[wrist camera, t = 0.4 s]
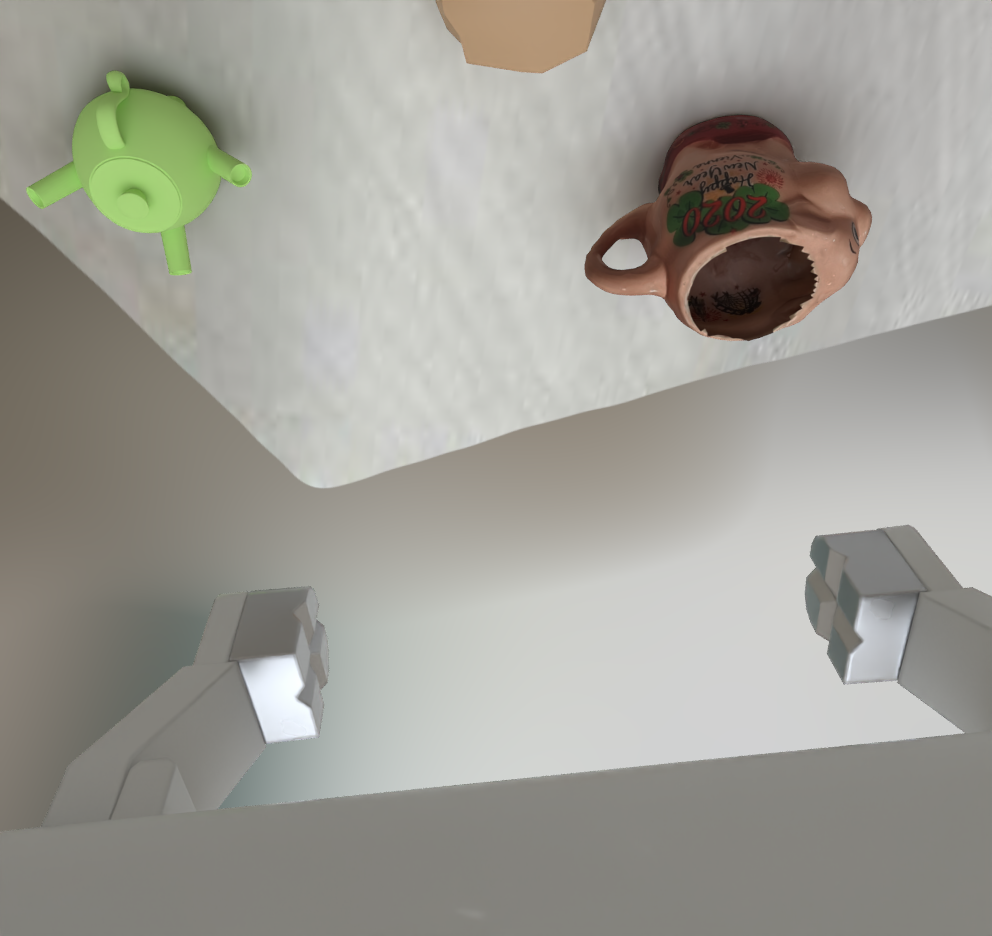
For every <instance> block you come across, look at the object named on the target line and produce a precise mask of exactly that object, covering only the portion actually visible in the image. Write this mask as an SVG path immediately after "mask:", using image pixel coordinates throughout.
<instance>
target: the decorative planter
mask: <svg viewBox="0 0 992 936" xmlns="http://www.w3.org/2000/svg"><path fill="white" fill-rule="evenodd" d="M658 191H659V197H658V198H657V200H656V202H654V203H646V204H643V205H641V206H639V207H638V208H636V209H634V210H633V211H631V212H629V213H628V214H626V215H625V216H623V217H621V218H620V219H619V220H617V221H616V222H615V223H614V224H613V225H612V226H611V227H609V228H608V229H607V230H606V231H605V232H604V233H603V234H602V235H601V237H600V238H599V239H598V241H597V242H596V243H595V244H594V245H593V246H592V248H591V251H590V252H589V253H588V254H587V255H586V261H585V275H586V277H587V279H589V280H590V281H591V282H592V283H593V284H594V285H596V286H597V287H599V288H600V289H602V290H604V291H606V292H609V293H612V294H617V295H630V296H631V295H656V296H659V297H662V298H663V299H665V301H666V303H667V304H668V306H669V307H670V308H671V309H672V310H673V311H674V313H675V315H676V317H677V318H678V319H679V320H680V321H681V322H682V323H683V324H685V325H686V326H688V327H689V328H691V329H692V330H694V331H696V332H697V333H699V334H701V335H703V336H706V337H711V338H715V339H720V340H727V341H740V340H747V341H750V340H753V339H757V338H760V337H763V336H766V335H769V334H771V333H773V332H775V331H778V330H780V329H782V328H785V327H788V326H791V325H794V324H796V323H798V322H800V321H801V320H803V319H804V318H805V317H806V316H807V315H808V314H809V313H810V312H811V311H812V310H813V309H814V308H815V307H816V306H817V305H819V304H820V303H821V302H822V301H824V300H825V299H827V298H828V297H829V296H831V295H832V294H834V293H835V292H837V291H838V290H840V289H841V288H842V287H843V286H845V284H846V283H847V282H848V280H849V279H850V277H851V276H852V274H853V272H854V270H855V268H856V266H857V263H858V254H859V248H860V247H861V245H862V244H863V243H864V241H865V239H866V237H867V235H868V233H869V230H870V227H871V222H872V215H871V212H870V210H869V209H868V207H867V206H866V205H865V204H863V203H862V202H860V201H858V200H856V199H854V198H852V197H851V196H850V194H849V191H848V186H847V182H846V179H845V177H844V176H843V174H842V173H841V172H840V171H839V170H837V169H836V168H834V167H832V166H829V165H825V164H821V163H815V162H799V161H797V160H796V158H795V156H794V153H793V149H792V146H791V143H790V141H789V140H788V138H787V137H786V135H785V134H784V133H783V132H782V131H781V130H780V129H778V128H777V127H776V126H774V125H773V124H771V123H769V122H768V121H766V120H764V119H761V118H759V117H755V116H746V115H736V116H725V117H719V118H716V119H712V120H709V121H705V122H702V123H700V124H697V125H695V126H693V127H691V128H689V129H687V130H686V131H684V132H683V133H682V134H680V135H679V136H678V137H677V138H676V140H675V141H674V142H673V144H672V145H671V147H670V149H669V151H668V153H667V156H666V159H665V163H664V167H663V170H662V173H661V175H660V179H659V185H658ZM619 239H637V240H639V241H640V242H641V243H642V245H643V247H644V249H645V251H646V254H647V257H648V260H647V261H646V262H645V263H644V264H643V265H642V266H639V267H637V268H634V269H627V270H616V269H612V268H609V267H608V266H607V265H606V264H605V263H604V262H603V261H602V257H603V255H604V254H605V253H606V252H607V250H608V249H609V248H610V247H611V246H612V245H613V244H614V243H615V242H616V241H617V240H619Z"/></svg>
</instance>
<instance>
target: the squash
mask: <svg viewBox="0 0 992 936" xmlns="http://www.w3.org/2000/svg"><path fill="white" fill-rule="evenodd" d="M605 1H606V0H436V3H437V6H438V8H439V10H440V13H441V15H442V18H443V20H444V23H445V25H446V27H447V29H448V30H449V31H450V32H451V33H452V34H453V35H454V36H455V38H456V39H457V40H458V41H459V42H460V43H461V44H462V47H463V51H464V55H465V59H466V62H467V63H468V64H475V65H481V66H487V67H494V68H500V69H506V70H513V71H519V72H531V73H544V72H546V71H548V70H550V69H552V68H554V67H556V66H558V65H560V64H562V63H564V62H566V61H568V60H570V59H572V58H574V57H576V56H578V55H580V54H582V53H584V52H586V51H587V49H588V46H589V44H590V41H591V39H592V36H593V33H594V31H595V28H596V25H597V23H598V20H599V17H600V15H601V12H602V9H603V7H604V4H605Z"/></svg>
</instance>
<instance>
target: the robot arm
mask: <svg viewBox="0 0 992 936" xmlns="http://www.w3.org/2000/svg"><path fill="white" fill-rule="evenodd" d="M810 557H811V559H812V561H813V562H814V564H815V566H816V568H815V569H814V570H813V571H812V572H811V573H810V574H809V575H808V576H807V578H806V587H805V600H806V609H807V613H808V616H809V619H810V622H811V624H812V626H813V628H814V630H815V632H816V634H818V635H820V636H821V637H823V638H824V639H826V640H828V641H829V645H828V651H827V655H828V656H829V658H830V660H831V662H832V664H833V665H834V667H835V669H836V671H837V673H838V675H839V676H840V678H841V680H842V682H843V684H856V683H869V682H882V681H896V680H898V682H897V683H898V684H900V685H901V686H903V687H904V688H905V689H906V690H908V691H909V692H910V693H912V694H913V695H915V696H916V697H917V698H919V699H920V700H921V701H923V702H924V703H925V704H927V705H928V706H930V707H931V708H932V709H933V710H935V711H936V712H938V713H939V714H940V715H942V716H943V717H944V718H946V719H947V720H948V721H950V722H951V723H952V724H954V725H955V726H957V727H958V728H959V729H961V730H962V731H963V732H965V733H964V734H954V735H946V736H935V737H926V738H916V739H907V740H897V741H888V742H878V743H869V744H858V745H848V746H839V747H828V748H818V749H808V750H798V751H788V752H779V753H768V754H758V755H748V756H738V757H729V758H718V759H708V760H699V761H688V762H678V763H668V764H659V765H649V766H639V767H630V768H619V769H610V770H601V771H590V772H580V773H571V774H561V775H551V776H542V777H532V778H523V779H512V780H502V781H493V782H483V783H473V784H464V785H454V786H443V787H434V788H423V789H413V790H404V791H394V792H384V793H374V794H364V795H354V796H344V797H335V798H324V799H315V800H305V801H295V802H285V803H275V804H265V805H255V806H245V807H235V808H225V809H218V808H219V806H220V805H221V804H222V802H223V801H224V800H225V799H226V797H227V796H228V795H229V794H230V792H231V791H232V790H233V789H234V787H235V786H236V785H237V783H238V782H239V781H240V779H241V778H242V777H243V776H244V775H245V773H246V772H247V771H248V769H249V768H250V767H251V766H252V764H253V763H254V762H255V761H256V759H257V758H258V756H259V755H260V754H261V753H262V752H263V750H264V749H265V748H266V745H265V744H270V743H277V742H286V741H293V740H302V739H309V738H317V737H319V735H320V729H321V721H322V715H323V708H324V702H323V698H322V694H321V689H322V688H323V687H324V686H325V685H326V683H327V681H328V672H329V649H328V641H327V635H326V631H325V627H324V625H323V624H321V623H320V622H319V621H317V613H318V608H319V604H318V600H317V597H316V593H315V590H314V589H313V588H312V587H311V586H308V587H294V588H282V589H269V590H255V591H251V592H237V593H224V594H220V595H219V596H218V597H217V598H216V599H215V600H214V603H213V606H212V609H211V612H210V615H209V618H208V621H207V624H206V627H205V630H204V633H203V636H202V639H201V642H200V645H199V648H198V651H197V654H196V657H195V660H194V663H193V665H192V666H184V667H183V668H181V669H180V670H179V671H178V672H177V673H176V674H174V676H172V677H171V678H170V679H169V680H167V681H166V682H165V683H164V684H163V685H162V686H160V687H159V688H158V689H157V690H156V691H155V692H153V693H152V694H151V695H150V696H149V697H148V698H146V699H145V700H144V701H143V702H142V703H141V704H139V705H138V706H137V707H136V708H135V709H133V710H132V712H130V713H129V714H128V715H126V716H125V717H124V718H123V719H122V720H121V721H120V722H118V723H117V724H116V725H115V726H114V727H112V728H111V729H110V730H109V731H108V732H107V733H105V734H104V735H103V736H102V737H101V738H100V739H98V740H97V741H96V742H95V743H94V744H92V745H91V746H90V747H89V748H88V749H87V750H85V751H84V752H83V753H82V754H81V755H80V756H78V757H77V758H76V759H75V760H74V761H73V762H71V763H70V764H69V765H68V766H67V769H66V771H65V773H64V775H63V778H62V780H61V782H60V785H59V787H58V789H57V792H56V793H55V796H54V798H53V800H52V803H51V805H50V807H49V809H48V812H47V814H46V816H45V819H44V820H43V823H42V825H41V827H38V828H27V829H17V830H7V831H0V936H992V596H990V595H987V594H985V593H983V592H981V591H979V590H977V589H975V588H973V587H970V588H963V587H962V586H961V585H960V584H959V582H958V581H957V580H956V579H955V577H953V575H952V574H951V572H950V571H949V570H948V569H947V568H946V566H945V565H944V564H943V562H942V561H941V560H940V559H939V558H938V556H937V555H936V554H935V552H934V551H933V550H932V549H931V547H930V546H928V544H927V543H926V541H925V540H924V539H923V538H922V536H921V535H920V534H919V533H918V531H917V530H916V529H915V528H914V527H912V526H910V525H903V526H895V527H887V528H879V529H877V530H867V531H859V532H849V533H840V534H830V535H820V536H816V537H815V538H814V540H813V542H812V545H811V552H810Z"/></svg>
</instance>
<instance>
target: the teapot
mask: <svg viewBox="0 0 992 936" xmlns="http://www.w3.org/2000/svg"><path fill="white" fill-rule="evenodd" d="M106 79H107V83H108V86H109V88H110V90H111V91H110V92H108V93H105V94H102V95H100V96H98V97H96V98H95V99H93V100H92V101H91V102H89V103H88V104H87V105H86V106H85V107H84V109H83V110H82V112H81V113H80V115H79V117H78V119H77V122H76V124H75V127H74V132H73V139H72V154H73V161H72V162H71V163H69V164H67V165H65V166H64V167H62V168H60V169H59V170H57V171H55V172H53V173H52V174H50V175H48V176H46V177H45V178H43V179H41V180H39V181H38V182H36V183H34V184H32V185H31V186H29V187H27V188H26V191H27V194H28V196H29V197H30V199H31V200H32V202H33V203H34V204H35V205H36V206H37V207H39V208H41V209H44V208H45V207H47V206H49V205H51V204H53V203H55V202H56V201H58V200H60V199H62V198H64V197H66V196H67V195H69V194H71V193H73V192H75V191H77V190H79V189H80V188H82V187H83V188H84V190H85V192H86V193H87V195H88V197H89V198H90V199H91V201H92V202H93V203H94V205H95V206H96V207H97V208H98V209H99V211H100V212H101V213H102V214H104V215H105V216H106V217H107V218H108V219H110V220H111V221H112V222H114V223H116V224H117V225H119V226H121V227H123V228H126V229H128V230H132V231H136V232H142V233H158V232H161V236H162V241H163V245H164V250H165V255H166V260H167V264H168V269H169V274H170V275H186V274H190V273H191V272H192V270H191V264H190V258H189V252H188V246H187V239H186V233H185V227H184V225H185V224H188V223H189V222H191V221H192V220H194V219H195V218H197V217H198V216H199V215H200V214H201V213H203V212H204V210H205V209H206V208H207V207H208V206H209V204H210V203H211V202H212V200H213V198H214V197H215V195H216V193H217V190H218V188H219V185H220V181H221V177H222V178H224V179H225V180H227V181H229V182H230V183H232V184H233V185H235V186H237V187H244V186H246V185H247V184H248V183H249V182H250V180H251V177H252V172H251V169H250V168H249V167H248V166H247V165H246V164H244V163H242V162H241V161H239V160H237V159H235V158H234V157H232V156H230V155H228V154H227V153H225V152H223V151H222V150H220V149H218V147H217V145H216V143H215V141H214V138H213V137H212V135H211V133H210V131H209V130H208V129H207V127H206V126H205V125H204V123H203V122H202V121H201V120H200V119H199V118H198V117H197V116H196V115H195V114H194V113H193V112H192V111H191V110H189V109H188V108H187V107H186V105H185V103H184V102H183V101H182V100H181V99H180V98H178V97H176V96H165V95H163V94H160V93H157V92H154V91H149V90H144V89H133V88H131V89H130V87H129V83H128V80H127V78H126V76H125V75H124V74H123V73H121V72H119V71H110V72H109V73H107V75H106Z"/></svg>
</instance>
